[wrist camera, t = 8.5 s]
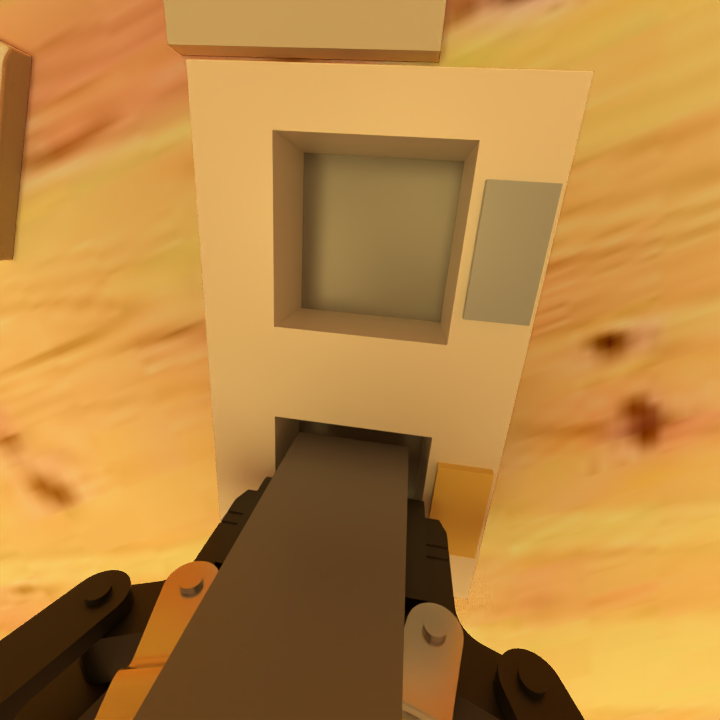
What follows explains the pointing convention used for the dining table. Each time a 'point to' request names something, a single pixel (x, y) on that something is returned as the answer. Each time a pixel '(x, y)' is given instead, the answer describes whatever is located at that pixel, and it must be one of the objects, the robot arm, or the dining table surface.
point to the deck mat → (307, 28)
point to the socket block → (377, 263)
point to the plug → (303, 598)
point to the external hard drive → (11, 138)
